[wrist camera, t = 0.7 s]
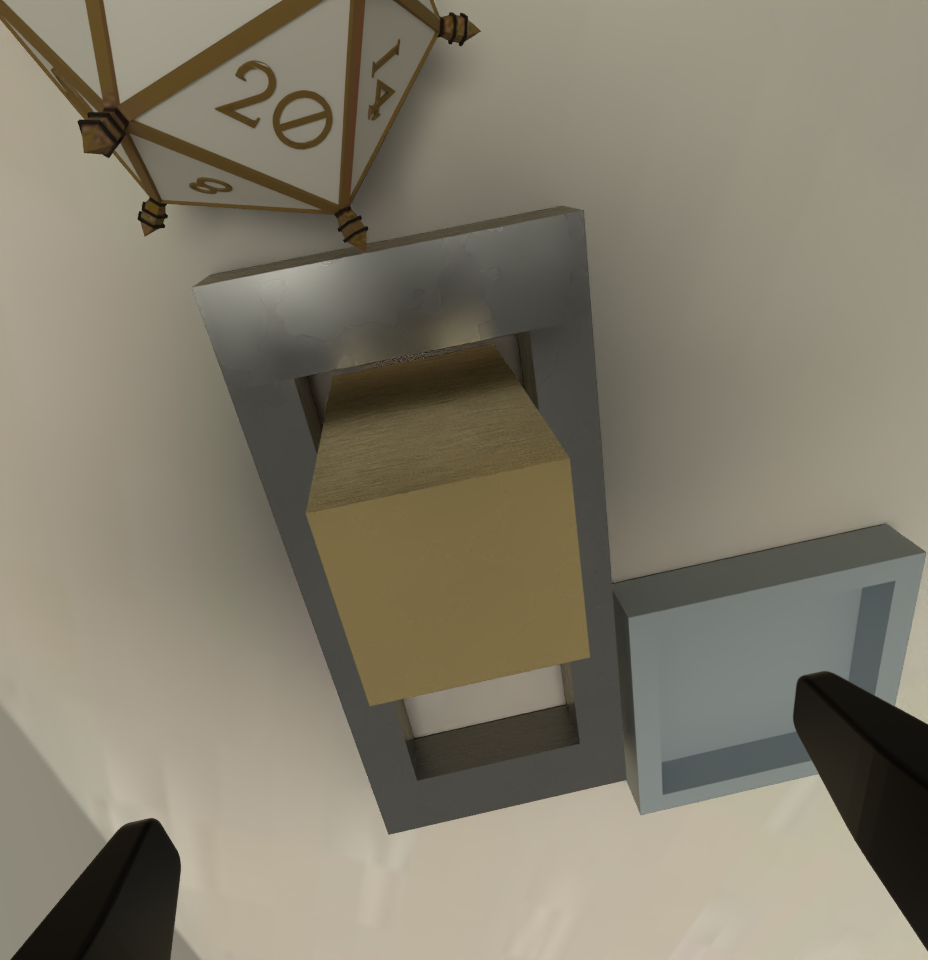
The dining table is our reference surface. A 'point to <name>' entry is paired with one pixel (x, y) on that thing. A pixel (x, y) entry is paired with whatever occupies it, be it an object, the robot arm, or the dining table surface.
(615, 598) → the tray
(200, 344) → the dining table surface
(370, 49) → the game die
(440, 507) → the tan rectangular block
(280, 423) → the grey flat frame
